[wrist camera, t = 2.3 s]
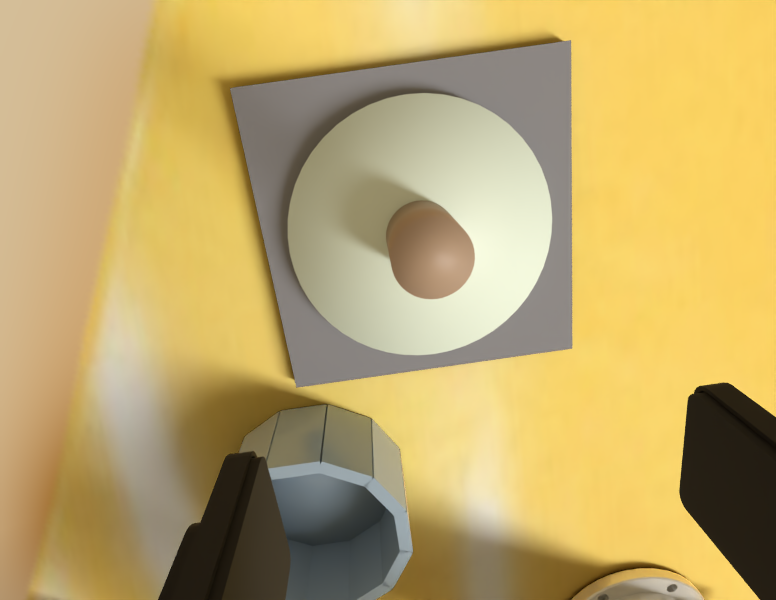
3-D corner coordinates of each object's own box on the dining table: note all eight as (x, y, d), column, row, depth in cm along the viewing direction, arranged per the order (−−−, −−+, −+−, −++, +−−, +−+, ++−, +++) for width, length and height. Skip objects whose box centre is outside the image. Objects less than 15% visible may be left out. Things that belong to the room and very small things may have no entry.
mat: (565, 42, 27) (570, 40, 26) (567, 343, 33) (572, 348, 33) (233, 88, 27) (230, 88, 26) (297, 381, 33) (296, 387, 33)
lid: (543, 75, 27) (591, 65, 21) (548, 330, 32) (588, 376, 27) (264, 114, 27) (239, 114, 21) (315, 363, 32) (305, 416, 27)
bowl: (391, 394, 34) (397, 450, 28) (412, 531, 38) (420, 603, 33) (215, 419, 34) (186, 480, 28) (254, 554, 38) (236, 629, 33)
